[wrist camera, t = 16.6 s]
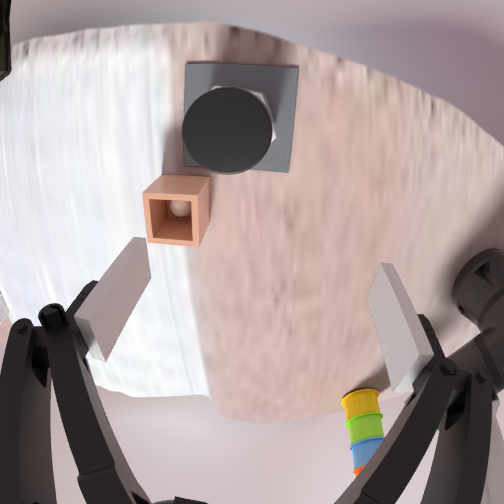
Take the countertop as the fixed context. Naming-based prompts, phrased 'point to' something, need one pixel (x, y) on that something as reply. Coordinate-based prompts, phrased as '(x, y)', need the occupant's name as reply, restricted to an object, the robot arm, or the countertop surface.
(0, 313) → the supplement box
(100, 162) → the countertop surface
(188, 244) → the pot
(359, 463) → the stacking cups
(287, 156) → the mat
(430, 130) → the countertop surface
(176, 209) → the ball
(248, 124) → the jar
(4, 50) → the diary
